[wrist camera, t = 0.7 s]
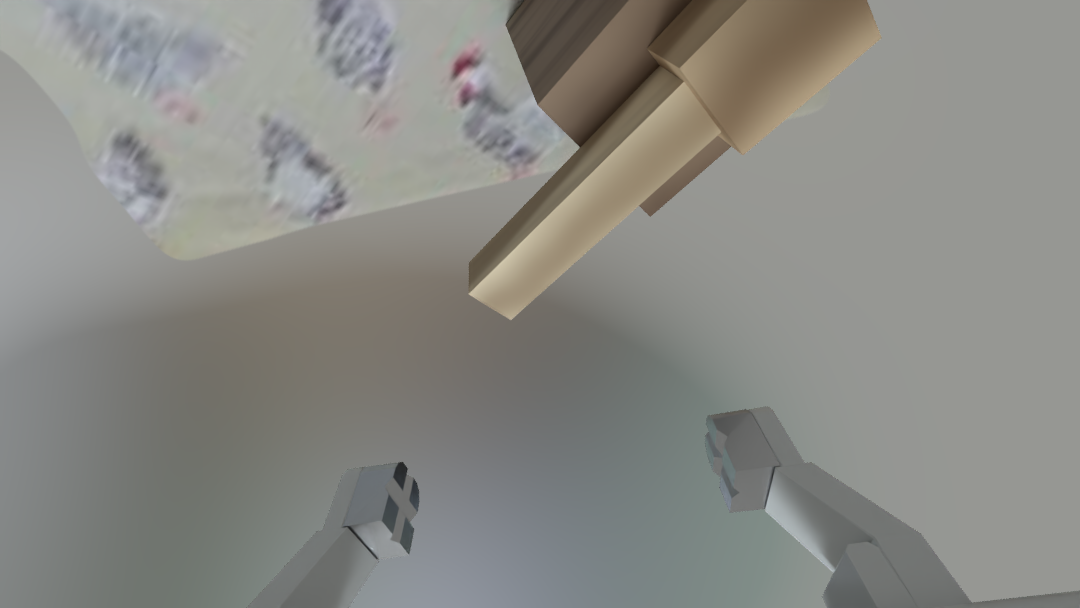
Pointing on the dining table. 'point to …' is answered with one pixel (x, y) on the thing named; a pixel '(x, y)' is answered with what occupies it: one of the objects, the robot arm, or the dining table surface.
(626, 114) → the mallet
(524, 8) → the stand
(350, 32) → the dining table surface
